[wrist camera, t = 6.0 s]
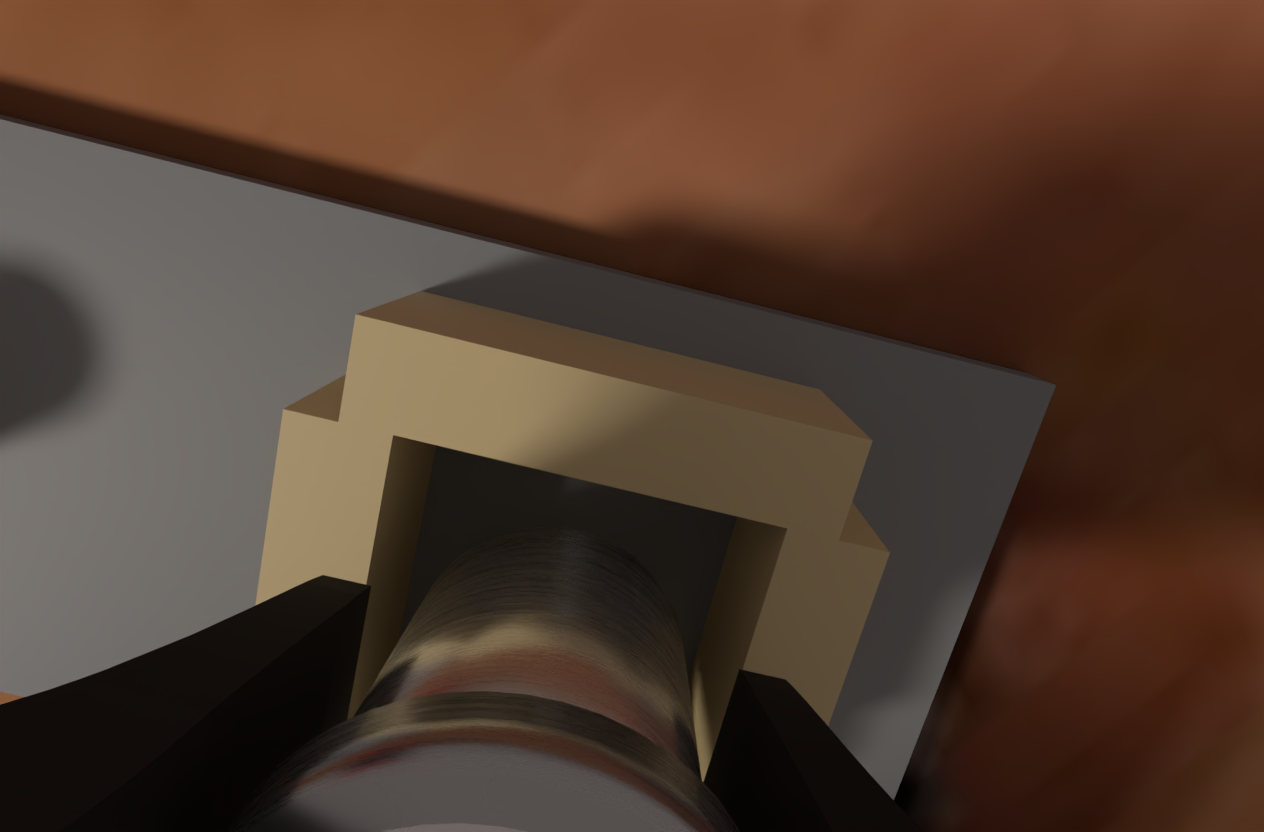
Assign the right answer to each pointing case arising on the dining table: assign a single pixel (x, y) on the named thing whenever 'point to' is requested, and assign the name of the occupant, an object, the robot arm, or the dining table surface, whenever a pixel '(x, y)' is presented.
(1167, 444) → the dining table surface
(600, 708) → the cylinder
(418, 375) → the board
